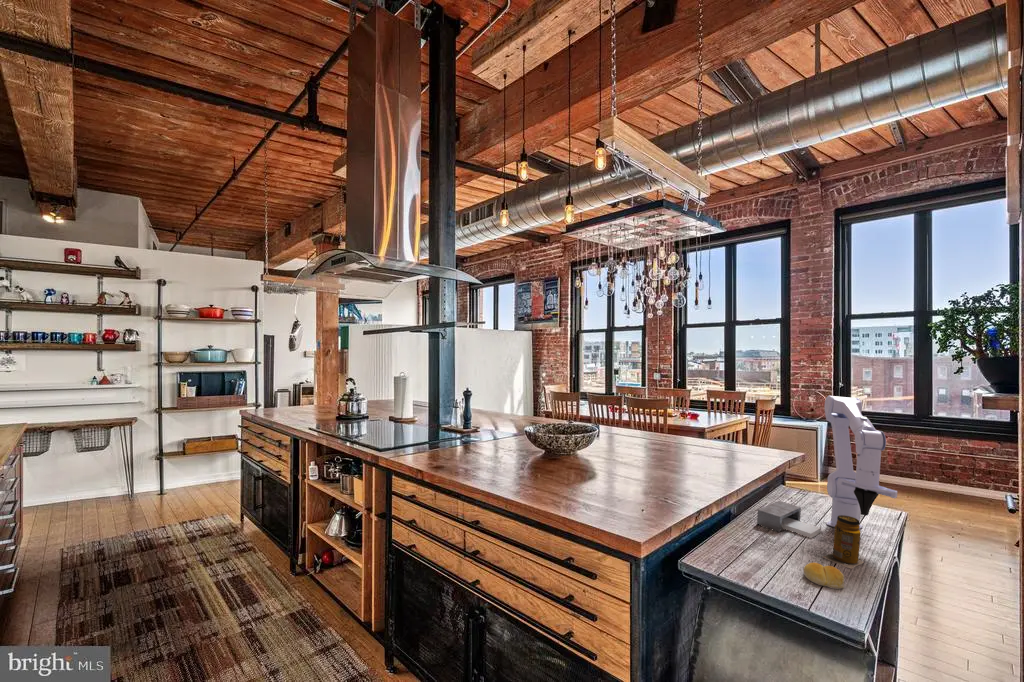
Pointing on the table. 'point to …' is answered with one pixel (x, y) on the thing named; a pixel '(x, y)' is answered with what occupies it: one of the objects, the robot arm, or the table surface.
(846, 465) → the robot arm
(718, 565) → the table surface
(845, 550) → the condiment
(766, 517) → the grey c-shaped bracket
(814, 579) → the bread roll
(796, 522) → the tile
